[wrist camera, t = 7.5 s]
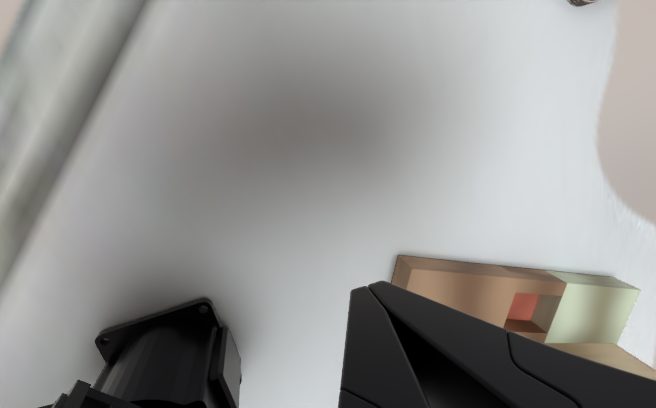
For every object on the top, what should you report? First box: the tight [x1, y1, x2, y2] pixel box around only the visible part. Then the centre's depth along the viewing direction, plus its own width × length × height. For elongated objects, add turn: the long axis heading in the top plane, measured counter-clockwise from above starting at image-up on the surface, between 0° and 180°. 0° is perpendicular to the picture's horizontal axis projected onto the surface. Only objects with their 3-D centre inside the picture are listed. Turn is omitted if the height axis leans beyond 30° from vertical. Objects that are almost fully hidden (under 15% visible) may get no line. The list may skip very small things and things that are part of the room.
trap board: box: [391, 255, 641, 345], centre depth 26 cm, size 19×16×2 cm
